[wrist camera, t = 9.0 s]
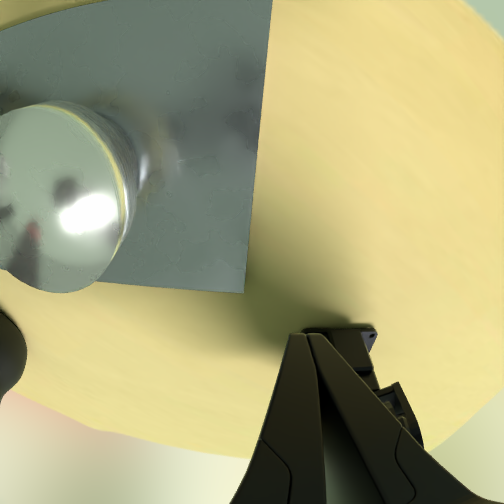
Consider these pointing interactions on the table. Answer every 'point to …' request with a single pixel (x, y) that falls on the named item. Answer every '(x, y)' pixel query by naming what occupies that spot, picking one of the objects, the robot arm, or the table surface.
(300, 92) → the table surface
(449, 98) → the table surface
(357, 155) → the table surface
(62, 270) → the elbow
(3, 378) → the cola bottle
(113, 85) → the plate
